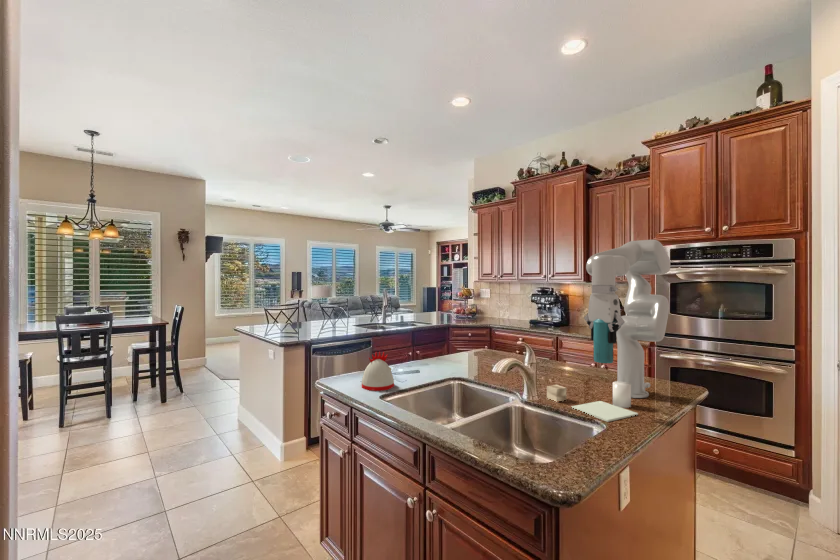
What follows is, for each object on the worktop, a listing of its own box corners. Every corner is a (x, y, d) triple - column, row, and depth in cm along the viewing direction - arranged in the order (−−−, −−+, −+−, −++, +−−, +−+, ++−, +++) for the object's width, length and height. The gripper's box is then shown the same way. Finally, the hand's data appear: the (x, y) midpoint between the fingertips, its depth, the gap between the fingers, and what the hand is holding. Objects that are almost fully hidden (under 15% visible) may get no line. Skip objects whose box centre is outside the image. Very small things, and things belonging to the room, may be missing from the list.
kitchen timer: (396, 389, 161) (396, 353, 161) (363, 391, 158) (363, 355, 158) (391, 381, 174) (391, 348, 174) (360, 383, 171) (360, 349, 171)
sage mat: (600, 402, 144) (600, 400, 144) (638, 415, 131) (638, 413, 131) (571, 407, 138) (571, 406, 138) (607, 421, 124) (607, 420, 124)
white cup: (619, 401, 145) (619, 380, 145) (634, 406, 140) (634, 384, 140) (609, 403, 143) (609, 382, 143) (623, 408, 137) (623, 386, 137)
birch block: (556, 397, 151) (556, 384, 151) (566, 400, 146) (566, 387, 146) (546, 399, 149) (546, 386, 149) (556, 402, 144) (556, 389, 144)
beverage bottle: (616, 368, 131) (616, 309, 131) (595, 367, 132) (595, 309, 132) (610, 364, 137) (610, 308, 137) (590, 363, 138) (591, 307, 139)
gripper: (633, 291, 128) (633, 344, 128) (590, 289, 144) (590, 337, 144) (618, 291, 125) (617, 346, 125) (576, 290, 141) (575, 338, 141)
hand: (603, 341), depth 135 cm, fingers closed on beverage bottle, 6 cm apart
